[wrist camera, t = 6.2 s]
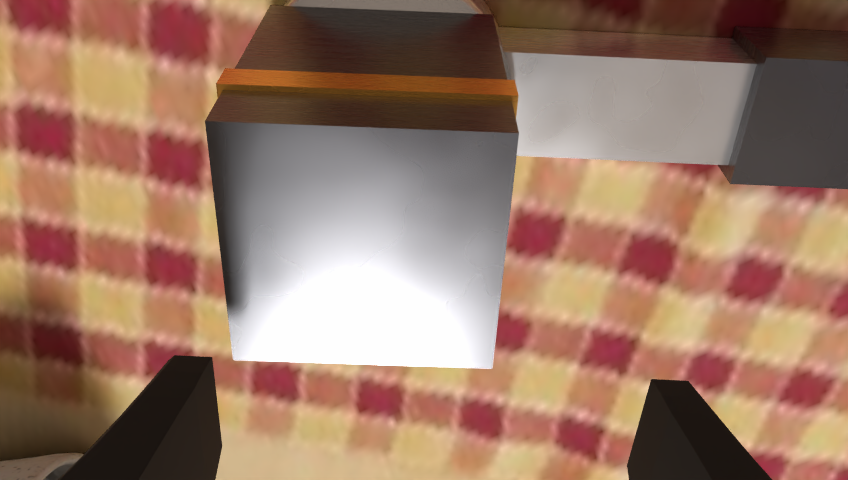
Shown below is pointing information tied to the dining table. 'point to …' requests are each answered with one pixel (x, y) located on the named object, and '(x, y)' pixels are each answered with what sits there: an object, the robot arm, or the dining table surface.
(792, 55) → the ratchet
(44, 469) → the ceramic mug
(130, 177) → the dining table surface
